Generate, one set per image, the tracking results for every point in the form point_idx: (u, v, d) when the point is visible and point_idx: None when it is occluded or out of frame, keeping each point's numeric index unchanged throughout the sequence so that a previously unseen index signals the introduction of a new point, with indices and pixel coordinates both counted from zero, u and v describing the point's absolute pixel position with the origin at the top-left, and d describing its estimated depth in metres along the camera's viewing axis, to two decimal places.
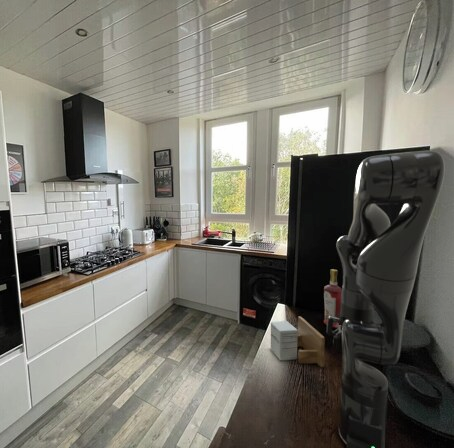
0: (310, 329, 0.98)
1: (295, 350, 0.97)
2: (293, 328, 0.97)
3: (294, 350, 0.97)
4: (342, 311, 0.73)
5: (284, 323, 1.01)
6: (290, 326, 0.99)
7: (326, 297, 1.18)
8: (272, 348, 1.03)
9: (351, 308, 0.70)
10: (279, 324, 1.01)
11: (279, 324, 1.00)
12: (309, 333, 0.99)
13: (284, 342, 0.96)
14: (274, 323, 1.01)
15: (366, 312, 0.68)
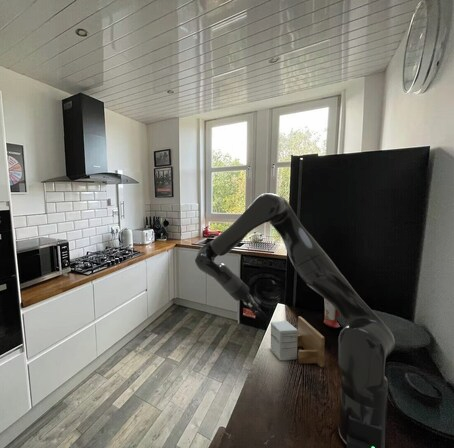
0: (310, 329, 0.98)
1: (295, 350, 0.97)
2: (293, 328, 0.97)
3: (294, 350, 0.97)
4: (243, 292, 0.95)
5: (284, 323, 1.01)
6: (290, 326, 0.99)
7: None
8: (272, 348, 1.03)
9: (242, 283, 0.97)
10: (279, 324, 1.01)
11: (279, 324, 1.00)
12: (309, 333, 0.99)
13: (284, 342, 0.96)
14: (274, 323, 1.01)
15: None
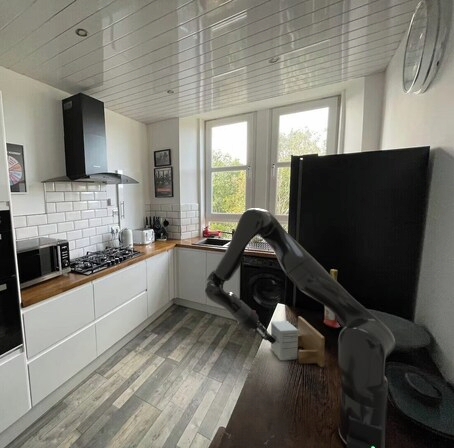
0: (310, 329, 0.98)
1: (295, 350, 0.97)
2: (293, 328, 0.97)
3: (294, 350, 0.97)
4: (253, 321, 0.96)
5: (285, 323, 1.01)
6: (290, 326, 0.99)
7: None
8: (272, 348, 1.03)
9: (251, 311, 0.97)
10: (280, 323, 1.01)
11: (279, 324, 1.00)
12: (309, 333, 0.99)
13: (284, 342, 0.97)
14: (274, 323, 1.01)
15: None
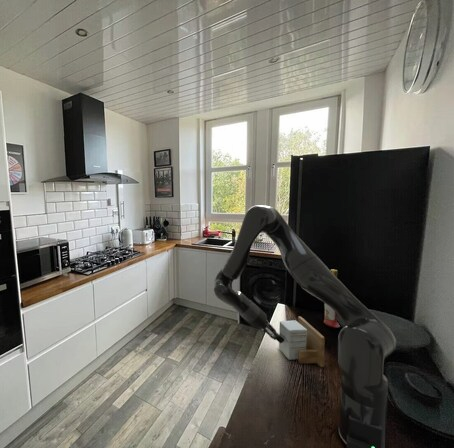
0: (310, 329, 0.98)
1: None
2: (302, 328, 0.97)
3: None
4: (262, 320, 0.96)
5: (293, 322, 1.01)
6: (299, 326, 0.99)
7: None
8: (281, 347, 1.03)
9: (260, 310, 0.97)
10: (288, 323, 1.01)
11: (288, 324, 1.00)
12: (309, 333, 0.99)
13: (293, 342, 0.96)
14: (283, 322, 1.01)
15: None
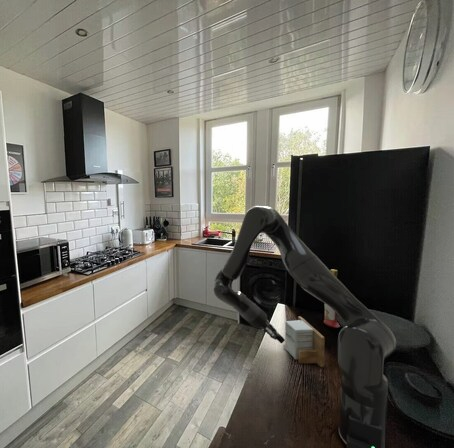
0: None
1: (311, 349, 0.97)
2: (309, 327, 0.97)
3: (309, 349, 0.97)
4: (262, 320, 0.96)
5: (299, 322, 1.01)
6: (305, 325, 0.99)
7: None
8: (287, 347, 1.03)
9: (260, 310, 0.97)
10: (294, 323, 1.01)
11: (294, 324, 1.00)
12: None
13: (299, 341, 0.96)
14: (289, 322, 1.01)
15: None
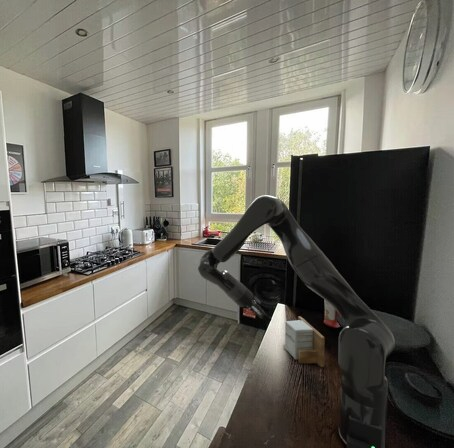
0: None
1: (310, 349, 0.97)
2: (309, 327, 0.97)
3: (309, 349, 0.97)
4: (248, 298, 0.95)
5: (299, 322, 1.01)
6: (305, 325, 0.99)
7: None
8: (287, 347, 1.03)
9: (246, 289, 0.96)
10: (294, 323, 1.01)
11: (294, 324, 1.00)
12: None
13: (299, 341, 0.96)
14: (289, 322, 1.01)
15: None
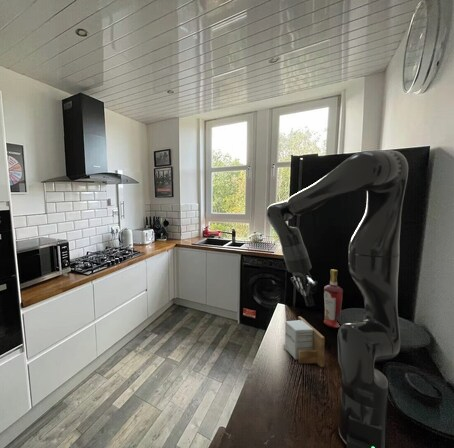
0: None
1: (310, 349, 0.97)
2: (309, 327, 0.97)
3: (309, 349, 0.97)
4: (307, 265, 0.82)
5: (299, 322, 1.01)
6: (305, 325, 0.99)
7: (326, 297, 1.18)
8: (287, 347, 1.03)
9: (308, 256, 0.84)
10: (294, 323, 1.01)
11: (294, 324, 1.00)
12: None
13: (299, 341, 0.96)
14: (289, 322, 1.01)
15: None
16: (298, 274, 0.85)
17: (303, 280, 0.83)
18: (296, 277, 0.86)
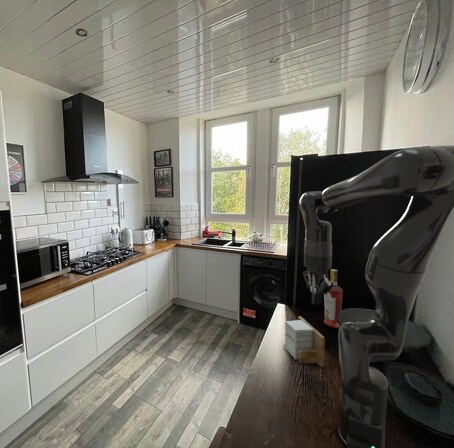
0: None
1: (310, 349, 0.97)
2: (309, 327, 0.97)
3: (309, 349, 0.97)
4: (328, 264, 0.77)
5: (299, 322, 1.01)
6: (305, 325, 0.99)
7: (326, 297, 1.18)
8: (287, 347, 1.03)
9: (331, 255, 0.78)
10: (294, 323, 1.01)
11: (294, 324, 1.00)
12: None
13: (299, 341, 0.96)
14: (289, 322, 1.01)
15: None
16: (315, 271, 0.80)
17: (318, 278, 0.78)
18: (311, 273, 0.82)
